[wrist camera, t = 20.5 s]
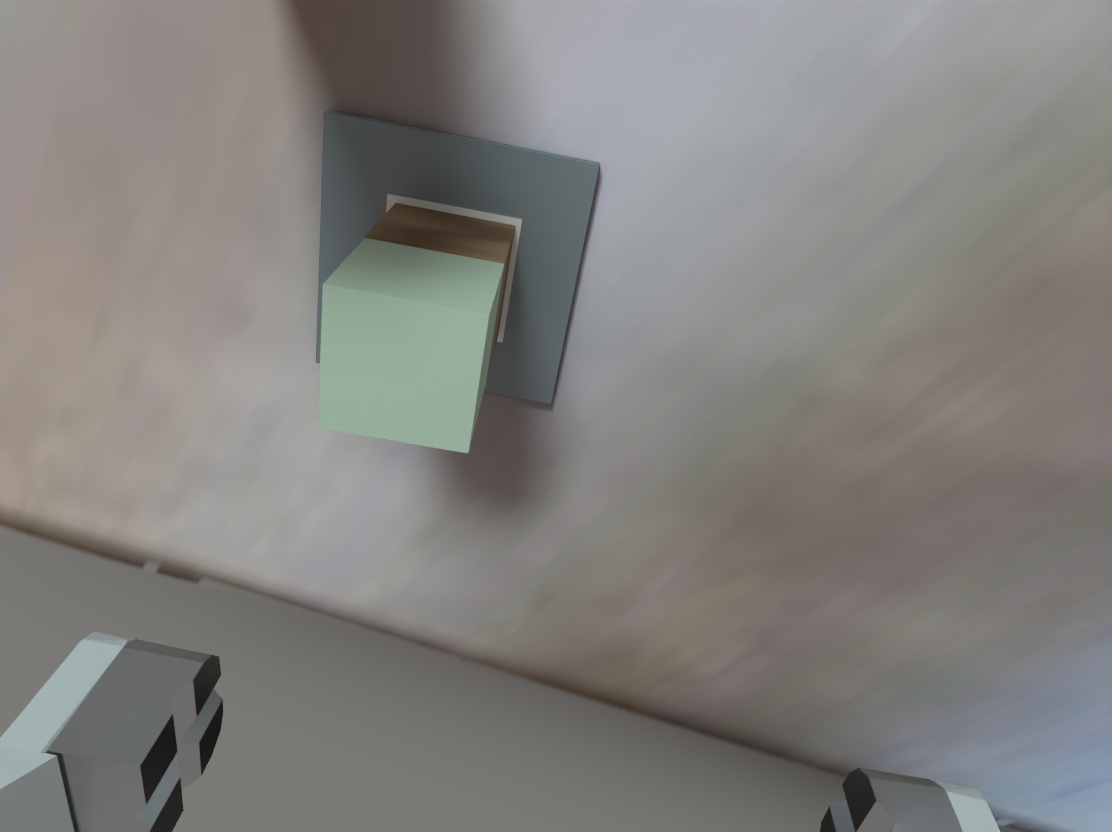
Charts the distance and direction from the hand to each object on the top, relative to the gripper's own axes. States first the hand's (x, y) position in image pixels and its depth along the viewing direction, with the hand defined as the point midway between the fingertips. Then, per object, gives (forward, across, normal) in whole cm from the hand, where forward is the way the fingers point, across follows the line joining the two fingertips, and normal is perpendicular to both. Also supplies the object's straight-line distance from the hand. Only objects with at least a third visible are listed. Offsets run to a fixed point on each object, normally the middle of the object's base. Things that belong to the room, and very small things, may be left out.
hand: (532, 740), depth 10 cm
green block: (+20, +5, +3) cm, 21 cm away
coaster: (+25, +6, +3) cm, 26 cm away
